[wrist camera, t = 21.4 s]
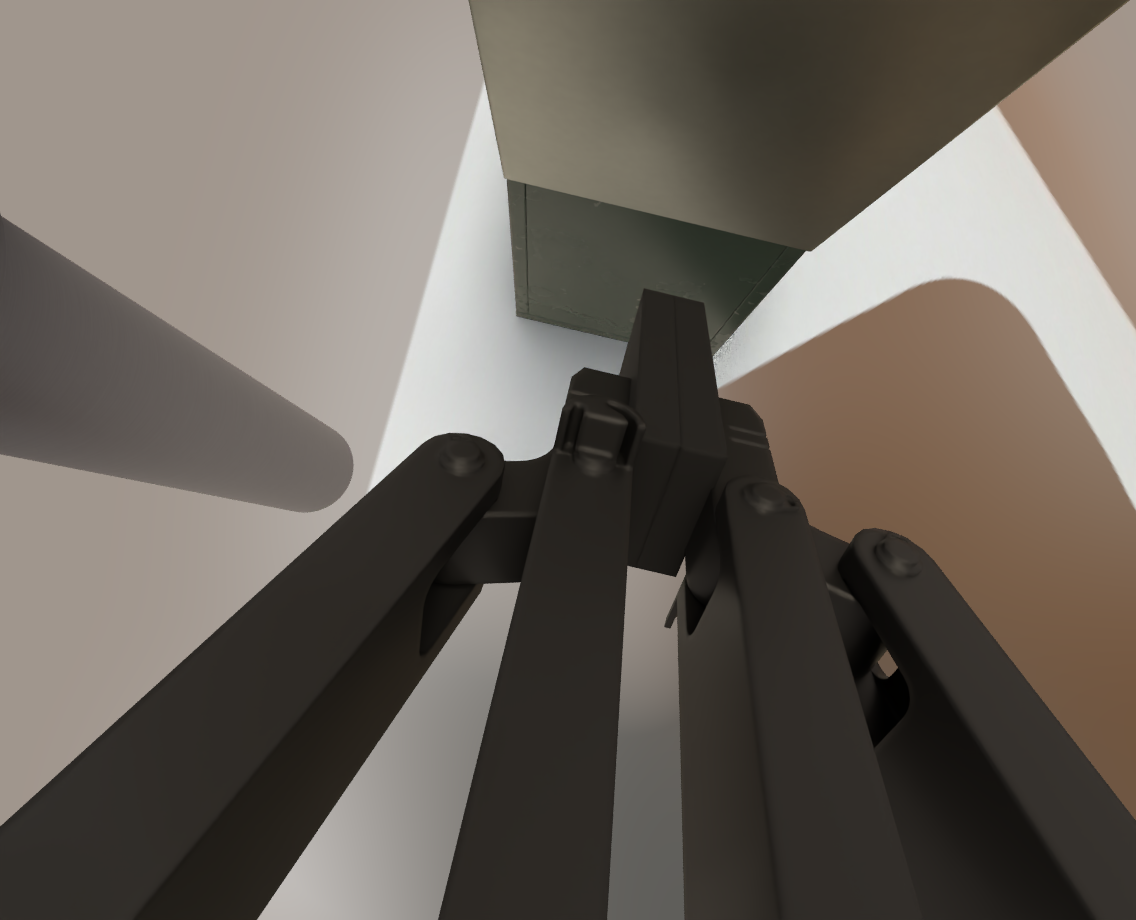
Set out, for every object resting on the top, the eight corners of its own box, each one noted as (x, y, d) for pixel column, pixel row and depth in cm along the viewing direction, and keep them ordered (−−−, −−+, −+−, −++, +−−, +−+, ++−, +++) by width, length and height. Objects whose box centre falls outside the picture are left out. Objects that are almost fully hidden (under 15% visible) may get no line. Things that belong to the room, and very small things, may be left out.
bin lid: (421, -323, 9) (410, -276, 9) (1236, -117, 10) (1224, -72, 10) (507, 161, 25) (503, 179, 25) (815, 235, 25) (810, 252, 25)
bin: (566, 115, 42) (584, -119, 28) (748, 159, 42) (860, -50, 28) (516, 316, 40) (505, 176, 25) (708, 361, 40) (808, 249, 26)
